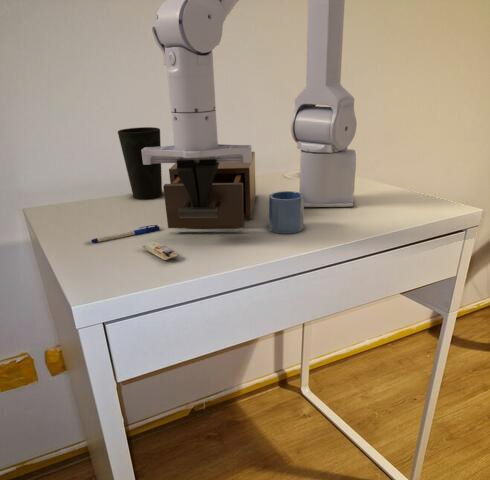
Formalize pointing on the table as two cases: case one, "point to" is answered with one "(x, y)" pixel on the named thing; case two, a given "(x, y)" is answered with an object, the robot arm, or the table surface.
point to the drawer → (219, 205)
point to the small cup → (286, 212)
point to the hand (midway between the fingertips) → (201, 215)
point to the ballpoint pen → (128, 233)
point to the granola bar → (160, 250)
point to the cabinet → (234, 168)
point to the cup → (141, 161)
